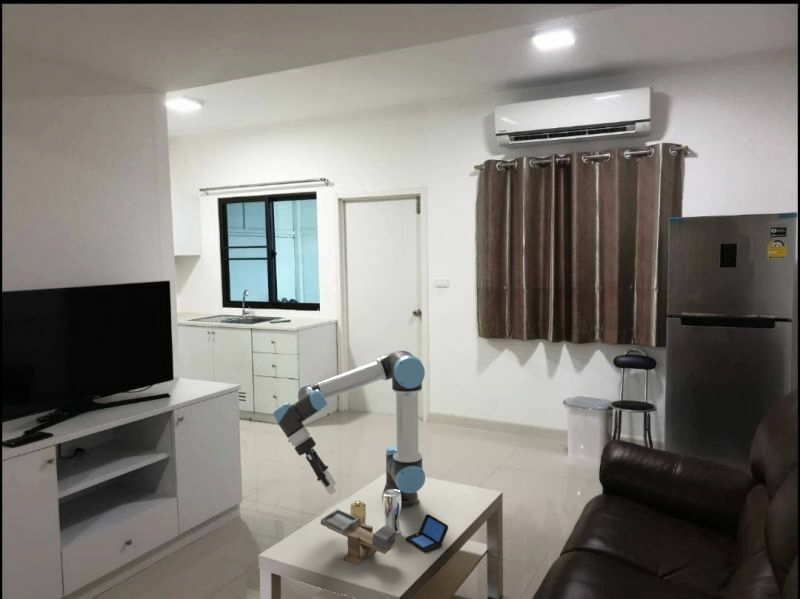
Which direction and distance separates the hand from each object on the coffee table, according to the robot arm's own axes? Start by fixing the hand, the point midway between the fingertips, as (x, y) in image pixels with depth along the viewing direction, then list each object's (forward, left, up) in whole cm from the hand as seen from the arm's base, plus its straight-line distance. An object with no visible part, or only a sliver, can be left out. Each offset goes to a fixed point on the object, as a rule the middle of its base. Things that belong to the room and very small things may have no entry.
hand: (333, 489), depth 224 cm
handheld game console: (-10, +34, -17) cm, 39 cm away
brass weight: (-3, +9, -16) cm, 19 cm away
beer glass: (-11, +19, -16) cm, 27 cm away
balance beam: (+9, +17, -10) cm, 22 cm away
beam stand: (+9, +18, -16) cm, 26 cm away
